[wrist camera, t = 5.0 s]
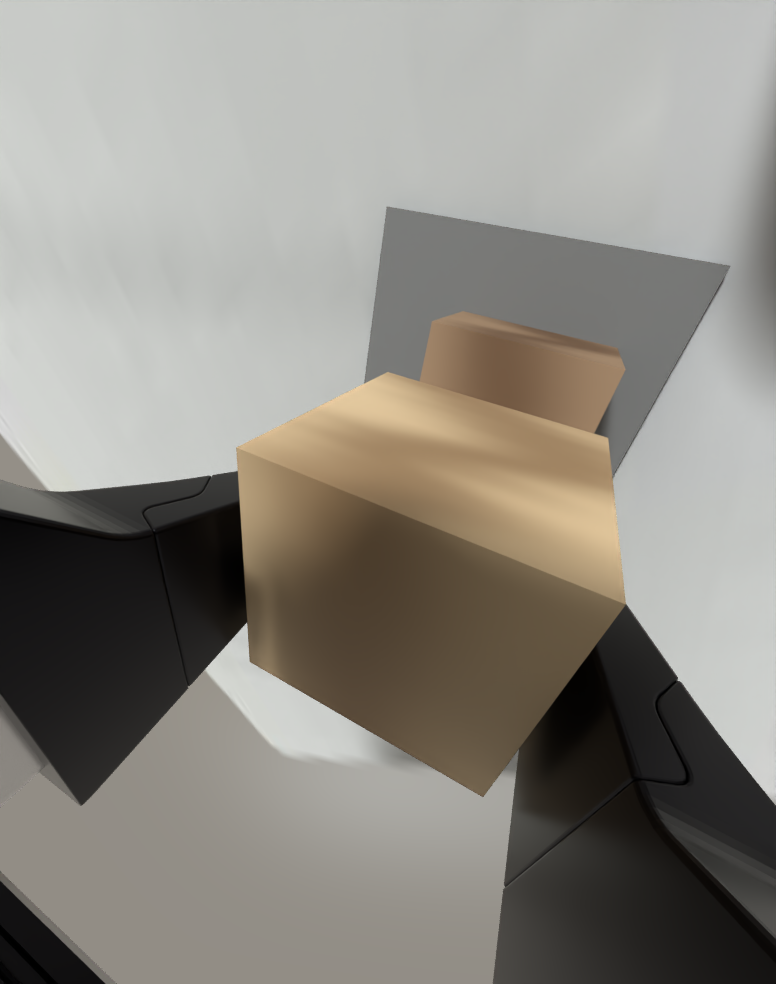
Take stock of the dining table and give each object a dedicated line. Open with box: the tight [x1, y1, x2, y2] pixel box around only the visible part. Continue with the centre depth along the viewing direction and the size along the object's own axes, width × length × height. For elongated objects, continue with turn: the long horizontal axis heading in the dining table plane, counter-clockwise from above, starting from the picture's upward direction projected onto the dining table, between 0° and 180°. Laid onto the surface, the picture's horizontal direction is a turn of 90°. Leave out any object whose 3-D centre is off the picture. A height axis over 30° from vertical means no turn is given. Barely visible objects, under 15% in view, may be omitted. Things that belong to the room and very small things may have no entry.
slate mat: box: [364, 207, 730, 476], centre depth 17 cm, size 12×10×1 cm
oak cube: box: [236, 372, 626, 797], centre depth 8 cm, size 5×5×5 cm
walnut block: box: [420, 311, 626, 433], centre depth 15 cm, size 6×6×4 cm
